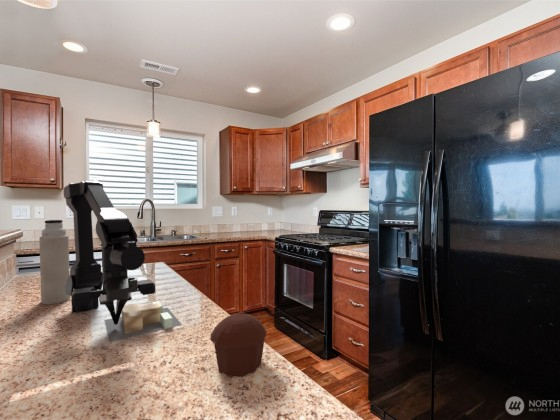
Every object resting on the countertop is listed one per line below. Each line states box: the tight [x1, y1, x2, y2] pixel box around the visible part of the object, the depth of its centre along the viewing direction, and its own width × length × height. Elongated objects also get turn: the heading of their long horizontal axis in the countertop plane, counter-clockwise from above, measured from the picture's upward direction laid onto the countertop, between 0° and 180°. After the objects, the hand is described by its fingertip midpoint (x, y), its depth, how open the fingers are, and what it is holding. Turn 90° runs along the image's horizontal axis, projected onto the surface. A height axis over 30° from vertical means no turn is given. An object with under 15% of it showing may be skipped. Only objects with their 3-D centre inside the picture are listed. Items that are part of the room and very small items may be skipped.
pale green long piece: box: [151, 300, 174, 330], centre depth 84 cm, size 2×16×2 cm, turn 34°
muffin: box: [209, 313, 267, 378], centre depth 61 cm, size 12×11×10 cm
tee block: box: [121, 303, 161, 334], centre depth 80 cm, size 9×10×4 cm
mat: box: [104, 307, 183, 343], centre depth 81 cm, size 17×16×1 cm
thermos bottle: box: [39, 219, 71, 305], centre depth 101 cm, size 8×8×28 cm
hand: (115, 324), depth 77 cm, fingers closed
